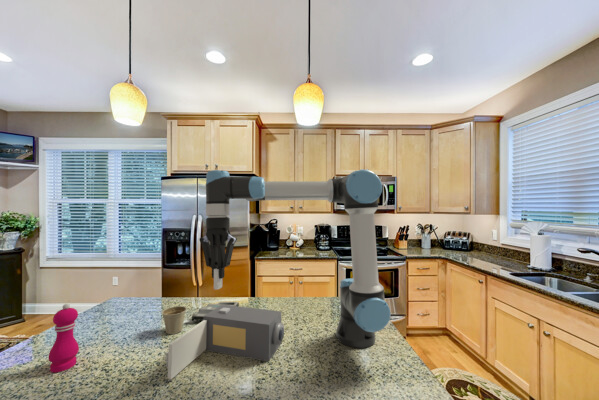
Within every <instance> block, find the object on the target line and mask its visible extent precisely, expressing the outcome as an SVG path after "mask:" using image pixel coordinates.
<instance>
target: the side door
mask: <svg viewBox="0 0 599 400" xmlns="http://www.w3.org/2000/svg"><path fill="white" fill-rule="evenodd" d="M206 332H207V320H201V322H199V323H197V324H196V325H194V326H193V327H192V328H190V329H189V330H187V331H186V332H184V333H182V334H181V335H179V336H178V337H177V338H175V339H174V340H172V341H171V342H169V343H168V346H167V347H168V348H167V349H168V351H167V352H166V358H165V359H166V362H165V368H167V379H168V380H173V379H174V377H176V376H177V375H179V373H181V371H183V370H184V369H185V368H186V367H187V366H189V364H190V363H192V362H194V360H195V359H196V358H198V357H199V356H200V355H201V354H202V353H203V352H205V351H207V350H206Z"/></svg>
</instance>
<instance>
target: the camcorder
mask: <svg viewBox="0 0 599 400" xmlns="http://www.w3.org/2000/svg"><path fill="white" fill-rule="evenodd" d="M221 305H230V306H239V307H240V303H239V301H220V302H217V303H208V304H207V305H206V306H201V307H200V308H199V309H198V312H197V313H196V312H193V313H192V315H191V321H192V322H194V321H195V320H196V321H203V316H204V315H206V314H208V313H209V312H211V311H213V310H214V309H216V308H217V307H219V306H221Z"/></svg>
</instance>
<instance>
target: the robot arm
mask: <svg viewBox="0 0 599 400" xmlns="http://www.w3.org/2000/svg"><path fill="white" fill-rule="evenodd" d="M205 178H206V179H205V180H206V181H205V199H206V201H205V216H206V218H205V227H206V232H205V235H204V236H202V237H200V238H199V242H200V243H201V248H202V251H203V256H204V261H205V266H206V267H209V268H210V269H211V278H212V279H213V290H220V289H221V288H223V279H224V278H225V268H226V267H228V266H231V261H232V256H233V251H234V247H235V243H236V242H237V240H238V238H237V237H236V236H235V237H234V236H232V235H231V232H230V227H231V226H230V222H231V221H230V217H229V216H230V200H242V199H243V200H247V201H249V202H255V201H256V202H257V201H262V202H263V201H327V202H329V203H335V204H336V203H339V204H344V205H343V206H344V210H345V212H346V213H347V214H348V216H349V217H348V218H349V230H350V231H349V233H350V248H351V249H350V250H351V265H352V267H351V268H352V269H351V270H352V278H344V279H341V280H340V285H339V289H340V290H339V291H340V293H339V294H340V297H339V298H340V300H339V301H340V307H339V308H340V316H339V317H340V318H339V320H338V324H337V327H336V332H335V333H336V334H335V335H336V337H335V338H336V340H337V341H338V342H339V343H341V344H342V345H345V346H347V347H351V348H354V349H355V348H357V349H358V348H359V349H364V348H369V347H371V346H373V345H374V344H376V343H375V342H376V332H381V331H382V330H383V329H385V327H386V326H387V325H388V324H389V322H390V320H391V308H390V306H389V304H388V303H387V301H386V300H385V292H384V291H385V290H384V288H385V287H384V286H383V285H382V284H381V283H380V282H379V270H378V269H379V268H378V254H377V252H378V251H377V239H376V223H375V220H376V219H375V213H376V211H377V210H378V209H379V198H380V196H381V194H382V192H383V184H382V181H381V179H380V177H379V176H378V174H376V173H375V172H373V171H371V170H369V169H359V170H358V169H357V170H354V171H352V172H350V174H348V175H345V176H342V177H339V178H338V177H337V178H329V179H328V180H327V181H326V180H320V181H318V180H317V181H315V180H311V181H309V180H308V181H307V180H303V181H295V180H294V181H286V180H285V181H283V180H282V181H281V180H280V181H278V180H277V181H276V180H275V181H269V180H268V181H265V179H264V177H263V176H230V172H229V171H228V170H222V169H221V170H220V169H212V170H209V171H207V172H206V177H205Z"/></svg>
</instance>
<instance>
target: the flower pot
mask: <svg viewBox="0 0 599 400" xmlns="http://www.w3.org/2000/svg"><path fill="white" fill-rule="evenodd" d="M187 310H188V309H187V307H186V306H183V305H181V306H180V305H178V306H177V305H175V306H171V307H168V308H165V309H164V310H162V312H161V315H162V317H163V320H164V327H165V333H166V334H168V335H176V334H178V333H181V332H182V331H183V327H184V321H185V314H186V312H187Z"/></svg>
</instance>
